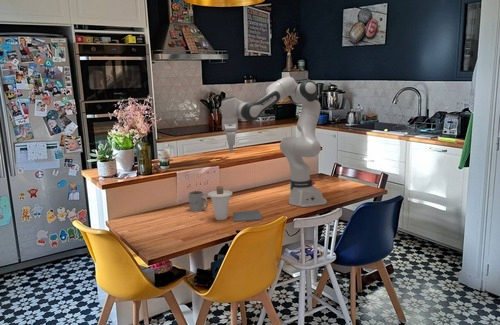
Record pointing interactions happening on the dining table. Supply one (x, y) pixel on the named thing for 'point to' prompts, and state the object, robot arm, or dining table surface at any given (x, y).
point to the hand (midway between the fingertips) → (231, 151)
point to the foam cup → (220, 207)
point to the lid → (220, 193)
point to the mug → (197, 201)
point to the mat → (247, 216)
